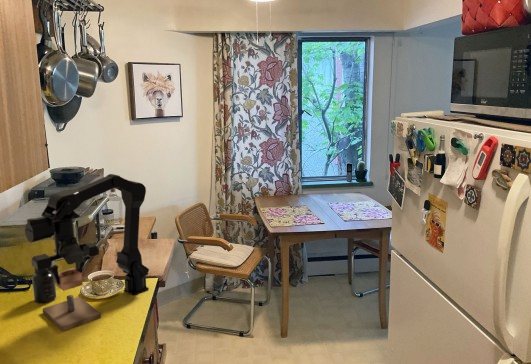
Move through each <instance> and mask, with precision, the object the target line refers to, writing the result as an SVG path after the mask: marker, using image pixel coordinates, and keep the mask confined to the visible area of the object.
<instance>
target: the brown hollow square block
mask: <svg viewBox="0 0 531 364" xmlns="http://www.w3.org/2000/svg"><path fill="white" fill-rule="evenodd" d="M82 273H83V272H82ZM82 273H81V272H79V271H78V270H76V267H72V268H71V267H70V268H68V269H65V270H60V271H58V275H59V280H60V284H59V285H58V284H57V283H56V281H55V287H58V289H60V290H61V291H68V290H71V289H74V288H77V287H81V286H83V274H82Z"/></svg>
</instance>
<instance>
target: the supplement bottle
mask: <svg viewBox="0 0 531 364" xmlns="http://www.w3.org/2000/svg"><path fill="white" fill-rule="evenodd" d="M31 281H32V290H33V298H34V302H35V303H36V304H38V305H39V304H41V305H42V304H48V303H52V302H53V301H55V300H56V298H57V289H56V287H57V286H56V282H55V279H54V277H53V276H52V274H51V272H50V271H49V270H47V269H43V270H37V269H36V268H35V267H34V275H33V276H32V278H31Z"/></svg>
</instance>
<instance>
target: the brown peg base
mask: <svg viewBox="0 0 531 364" xmlns="http://www.w3.org/2000/svg"><path fill="white" fill-rule="evenodd" d="M42 313H43V314H44V315H45V317H47V318H48V319H49V321H51V322H52V323H53V324H54V325H55V326H56V327H57V328H58V329H59V330H60V332H65V331H68V330H70V329H72V328H76V327H78V326H81V325H83V324H86V323H89V322H92V321H95V320H98V319H101V318H102V315H101V312H100V311H99V310H97V309H96V308H95V307H94V306H92V305H91V304H90V303H89V302H87V301H86V300H85V299H83V298H82V297H81V296H77V297H74V295H73V294H69V295H66V300H64V301H62V302H59V303H58V302H57V303H55V304H52V305H49V306H45V307H43V308H42Z"/></svg>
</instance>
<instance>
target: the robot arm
mask: <svg viewBox="0 0 531 364" xmlns="http://www.w3.org/2000/svg"><path fill="white" fill-rule="evenodd" d="M114 189H116V190H117V191H120V194H121V199H122V203H123V205H124V209H125V210H124V212H125V213H124V228H123V229H124V230H123V232H124V233H123V247H122V249H121V251H117V252H116V261H115V263H116V264H117V267H118V268H119V269H120V270H122V271H121V272H123V273H124V274H125V279H124V288H123V289H124V291H126V292H128V293H129V294H130V295H133V296H134V295H137V294H141V293H143V292H146V291H149V290H150V289H149V287H147V276H148V275H149V272H150V269H149V268H148V267H147V266H145V264H143V258H142V257H143V256H142V254H141V251H140V249H139V231H140V213H141V212H140V210H141V206H142V205H143V203H144V201H145V197H146V193H147V187H146V186H145V185H144V184H143V183H141V182H137V181H133V180H128V179H125V178H124V177H121V176H120V175H119V174H114V173H109V174H107V175H106V176H104V177H102V178H100V179H97V180H95V181H92V182H89V183H87V184H85V185H83V186H81V187H78V188H76V189H71V190H64V191H63V190H62V191H60V192H55V193H53V194H51V195H50V196H49V197H48V202H47V204H46V206H45V208H44V209H43V211H42V213H41V216H40V217H34V218H27V219H26V224H25V228H24V234H25V238H26V240H27V241H28V242H29V243H30V244H31V243H36V242H39V241H43V240H47V239H51V238H52V239H53V241H54V249H53V250H54V251H53V252H54V253H55V254H53V255H48V254H46V253H42V254H39V255H35V256H32V258H31V260H30V261H31V262H30V263H31V266H32V267H34V269H35V268H36V269H37V270H43V269H47V270H49V271H50V272H51V274H52V276H53V277H54V279H55V281H56V282H55V284H56V283H57V284H58V285H59V284H60V280H59V275H58V272H59V271H58V269H59V266H58V265H57V264H56V262H59V261H62V260H64V261H65V263H66V264H67V265H74V264H75V269H76V270H78V271H79V272H81V273H83V271H84V267H85V265H86V262H87V261H89V260H91V258H92V257H96V256H99V254H100V249H99V246H97V245H96V244H94V243H92V242H86V243H82V244H79V243H78V240H77V237H76V236H75V227H74V226H75V225H74V219H78V218H80V217H81V215H80V214H78V213H76V212H75V210H77V209H78V208H79V207H80V206H81V205H82V204H83V203H85V202H86V201H89V200H91V199H93V198H95V197H97V196H99V195H102V194H104V193H106V192H108V191H110V190H114ZM54 212H55V213H54Z"/></svg>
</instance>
